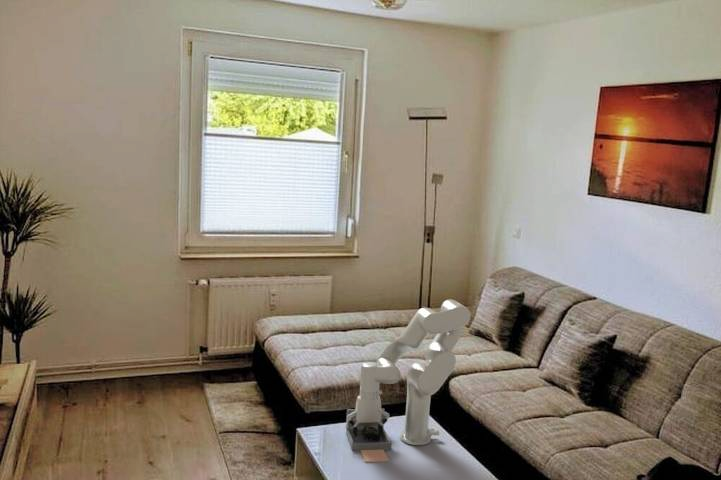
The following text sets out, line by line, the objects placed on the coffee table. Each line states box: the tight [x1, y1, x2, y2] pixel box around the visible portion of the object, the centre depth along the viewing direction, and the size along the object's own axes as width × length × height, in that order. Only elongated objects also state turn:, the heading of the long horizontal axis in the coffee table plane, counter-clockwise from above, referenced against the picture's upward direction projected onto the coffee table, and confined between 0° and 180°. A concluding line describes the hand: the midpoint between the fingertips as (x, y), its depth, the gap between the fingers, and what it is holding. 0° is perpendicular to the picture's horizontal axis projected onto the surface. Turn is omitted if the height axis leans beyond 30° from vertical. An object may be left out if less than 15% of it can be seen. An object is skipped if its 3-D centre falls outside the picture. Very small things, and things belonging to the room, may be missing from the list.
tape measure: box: [361, 426, 381, 443], centre depth 246 cm, size 7×7×4 cm
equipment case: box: [345, 408, 392, 451], centre depth 244 cm, size 16×15×10 cm
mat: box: [360, 449, 390, 463], centre depth 232 cm, size 9×9×1 cm
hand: (367, 434), depth 243 cm, fingers open, 9 cm apart
